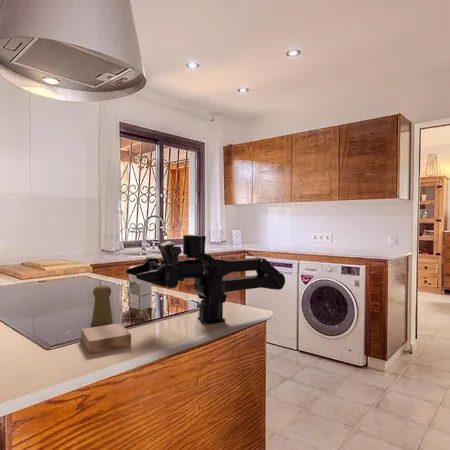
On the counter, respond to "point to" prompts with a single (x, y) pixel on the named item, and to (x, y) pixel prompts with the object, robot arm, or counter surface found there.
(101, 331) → the plinth
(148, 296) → the syrup box
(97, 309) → the olive pepper mill
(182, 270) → the robot arm
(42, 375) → the counter surface
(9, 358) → the counter surface
